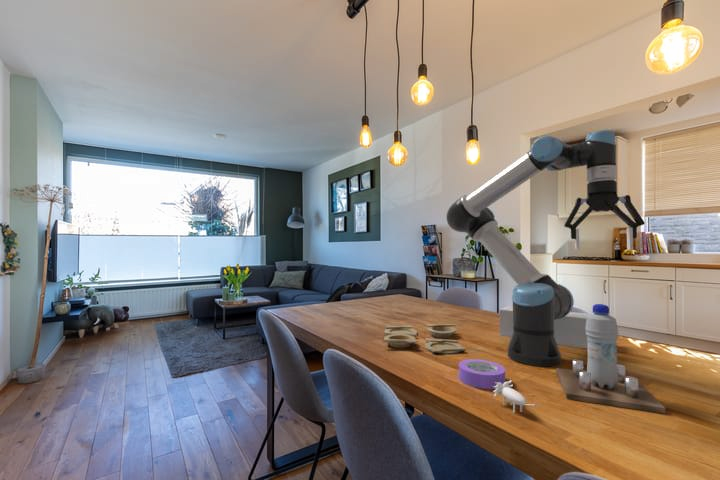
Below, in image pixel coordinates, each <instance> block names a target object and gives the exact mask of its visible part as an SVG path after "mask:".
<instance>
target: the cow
mask: <svg viewBox="0 0 720 480" xmlns="http://www.w3.org/2000/svg"><path fill="white" fill-rule="evenodd" d="M512 381H513V380H511V379H510V380H509V381H505V383H504V384H502V383H500V382H498V383H496V382H495V383H496V384H497V385H496V386H493V387H494V388H497V389H494V390H493V391H492V392H493V393H494V394H493V397H497V396H498V395H499V394H501V395H502V406H503V407H505V406H506V400H508V401H509V405H510V406H512V407H513V409H512V413H513V414H515V413H516V405H518V406H519V407H520V408H519V412H521V413H522V412H523V406H532V407H536V406H537V405H536V404H535V403H533V404H531V403H529V404H528V403H527V399H526V398H525V396H524V395H522V394H521V393H520V392H519V391H517V390H515V389H513V388H512V387H513V384H512ZM505 399H506V400H505Z"/></svg>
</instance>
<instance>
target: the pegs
mask: <svg viewBox="0 0 720 480" xmlns="http://www.w3.org/2000/svg"><path fill="white" fill-rule="evenodd" d="M571 364H572V369H571V370H573V376H574V377H577V378H579V389H581V390H583V391H591V373H590V372H587V370H584V361H583V360H581V359H575V358H574V359H572V361H571ZM617 368H618V383H625V395H626V396H628V397H631V398H638V381H639V379H638V378H637V377H635V376H629V375H628V376H626V366H625V365H623V364H618V363H617Z"/></svg>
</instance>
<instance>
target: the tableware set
mask: <svg viewBox="0 0 720 480" xmlns="http://www.w3.org/2000/svg"><path fill="white" fill-rule="evenodd" d="M384 327H385V329H384V334H385V336H384V338H383V339H382V342H384V343H388V344H390V346H391V347H393V348H397V349H404V348H409V347H411V344H413V343H417V342H418V340H417V339H416V338H417V336H418V331H417V329H414V325H411V324H408V325H397V326H396V325H395V326H393V325H391V326H384ZM426 327H427V331H428V332H430V333H432V335H433V337H436V338H425V339H424V340H425V342H426V343H425V344H424V348H425V349H426V350H427V351H429V352H431V353H438V354H445V355H446V354H447V355H450V354H457V353H460V352H462V351H463V352H465V351H466V347H464V346H463V345H461V344H459V340H458V339H457V340H456V339H449V338H451V337H452V335H453V334H455V333H457V331H458V329H457V328H455V327H456V323H445V324H444V323H441V324H437V323H428V324H426Z"/></svg>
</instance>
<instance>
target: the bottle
mask: <svg viewBox="0 0 720 480" xmlns="http://www.w3.org/2000/svg"><path fill="white" fill-rule="evenodd" d="M590 314H591V315H589V316H587V320H586V327H585V329H586V335H587V347H588V349H587V364H586V367H587V368H586V371H587V372H590V373H591V384H592V385H594V386H596V384H597V383H598V384H599V387H600V388H603V387H604V385H605V384H607V388H608V389H612V388H615V387H616V386H617V385H618V368H617V364H618V350H617V348H618V347H617V346H618V343H617V340H618V339H619V329H618V322H617V319H616V317H615V318H614V317H613V316H611V315H610V308H609V306H608V305H607V304H603V303H602V304H601V303H599V304H598V303H596V304H593V306H592V313H590Z"/></svg>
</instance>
